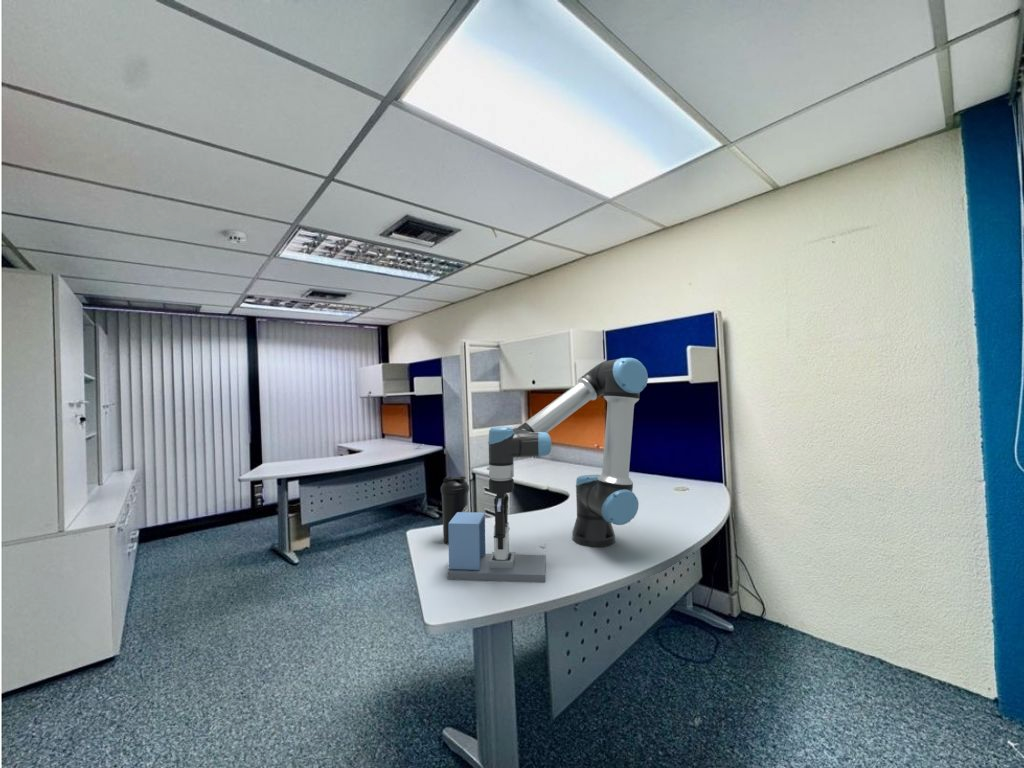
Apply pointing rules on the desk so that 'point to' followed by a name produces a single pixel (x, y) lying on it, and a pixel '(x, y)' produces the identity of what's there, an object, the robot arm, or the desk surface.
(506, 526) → the steel block
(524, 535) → the desk surface
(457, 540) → the housing cover
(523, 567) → the housing base
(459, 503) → the water bottle
